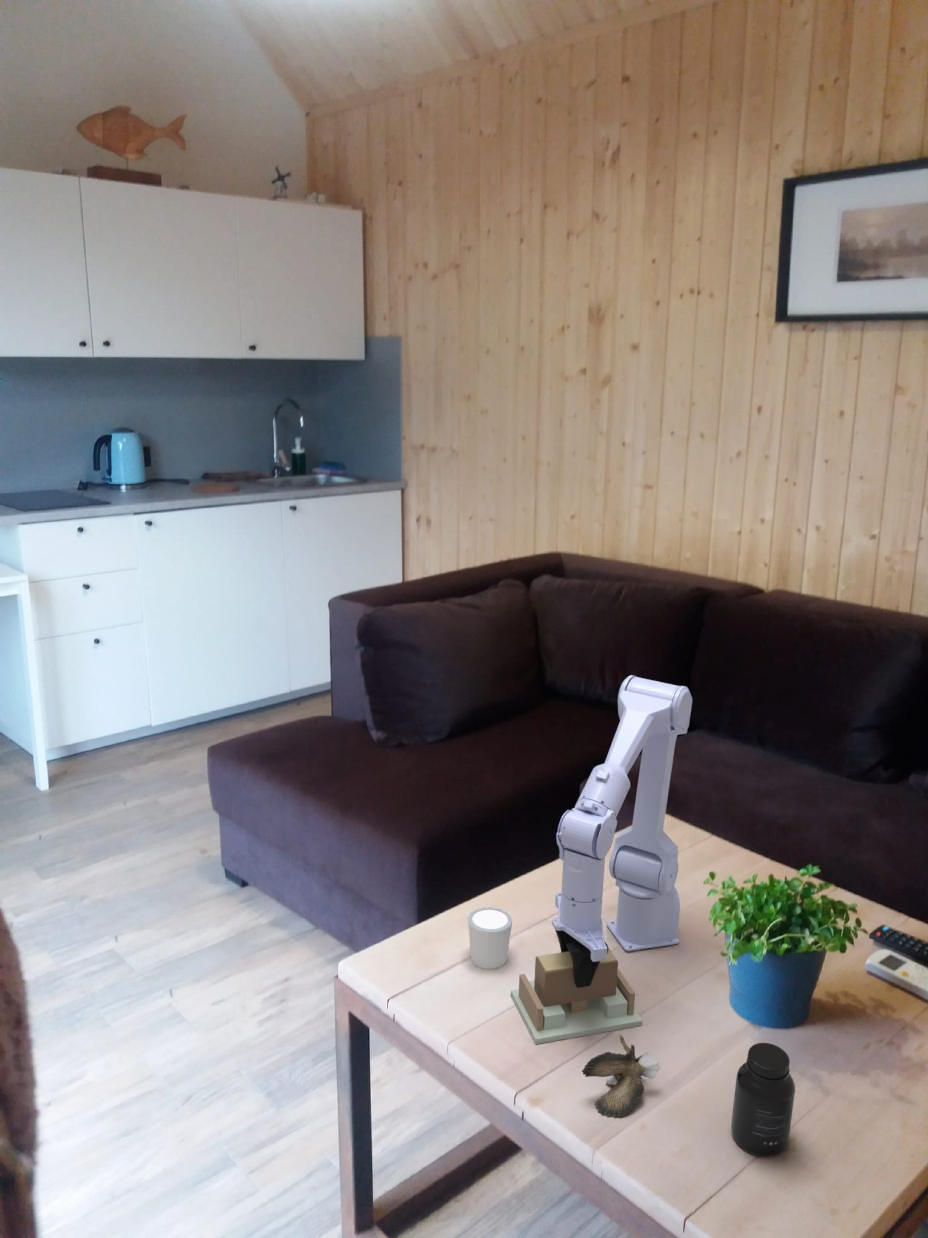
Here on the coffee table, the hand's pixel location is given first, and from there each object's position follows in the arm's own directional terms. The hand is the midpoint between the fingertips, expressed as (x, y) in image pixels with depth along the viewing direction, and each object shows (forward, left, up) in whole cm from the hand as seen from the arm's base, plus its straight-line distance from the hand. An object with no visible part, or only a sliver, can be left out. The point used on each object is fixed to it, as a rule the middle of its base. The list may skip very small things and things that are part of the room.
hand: (576, 975), depth 144 cm
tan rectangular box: (0, 0, -3) cm, 3 cm away
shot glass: (+8, -15, -6) cm, 18 cm away
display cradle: (0, 0, -6) cm, 6 cm away
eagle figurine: (+1, +17, -6) cm, 18 cm away
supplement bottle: (-13, +28, -6) cm, 31 cm away
